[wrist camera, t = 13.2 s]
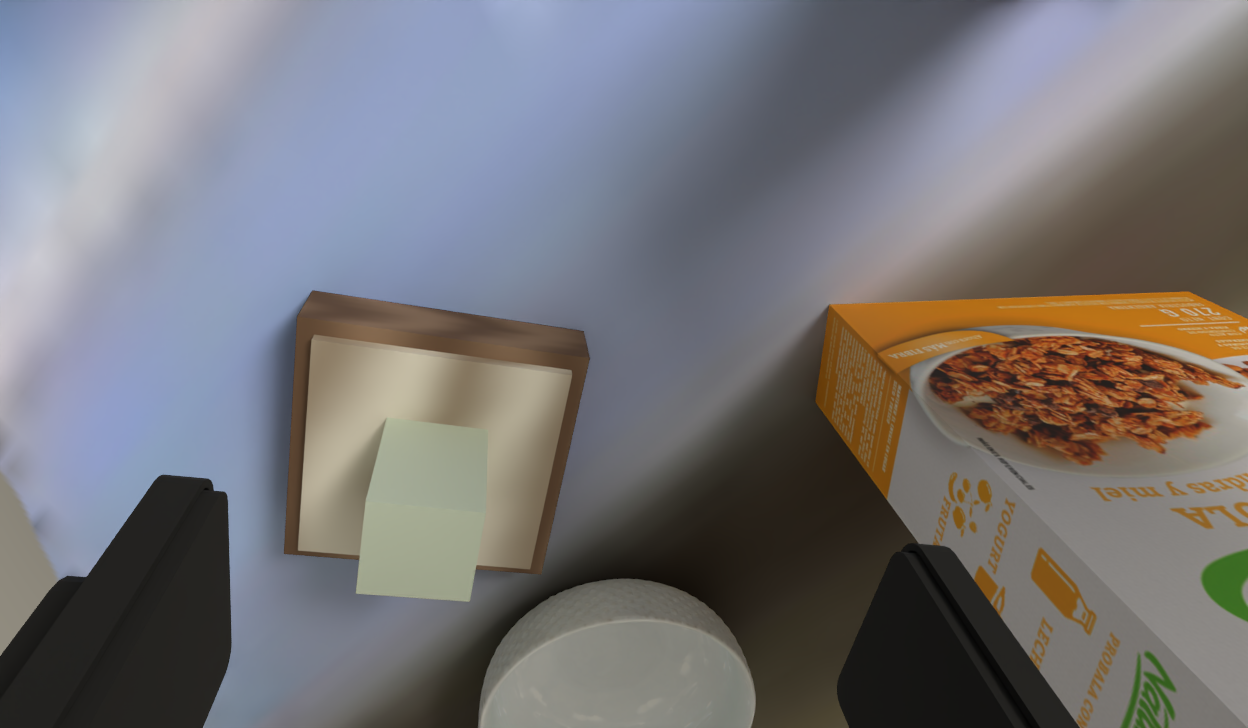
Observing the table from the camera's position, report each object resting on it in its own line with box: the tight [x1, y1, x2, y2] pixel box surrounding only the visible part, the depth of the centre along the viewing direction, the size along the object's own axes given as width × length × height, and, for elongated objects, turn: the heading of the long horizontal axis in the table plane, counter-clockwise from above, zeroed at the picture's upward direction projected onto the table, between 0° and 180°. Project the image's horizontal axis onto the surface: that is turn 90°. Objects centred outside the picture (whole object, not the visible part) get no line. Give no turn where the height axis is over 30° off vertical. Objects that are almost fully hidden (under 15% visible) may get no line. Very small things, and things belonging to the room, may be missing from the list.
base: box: [284, 291, 590, 574], centre depth 43 cm, size 14×14×4 cm
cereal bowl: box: [478, 579, 756, 728], centre depth 50 cm, size 17×17×7 cm
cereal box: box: [815, 292, 1248, 728], centre depth 34 cm, size 22×6×30 cm, turn 89°
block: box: [356, 418, 488, 602], centre depth 38 cm, size 5×5×7 cm
